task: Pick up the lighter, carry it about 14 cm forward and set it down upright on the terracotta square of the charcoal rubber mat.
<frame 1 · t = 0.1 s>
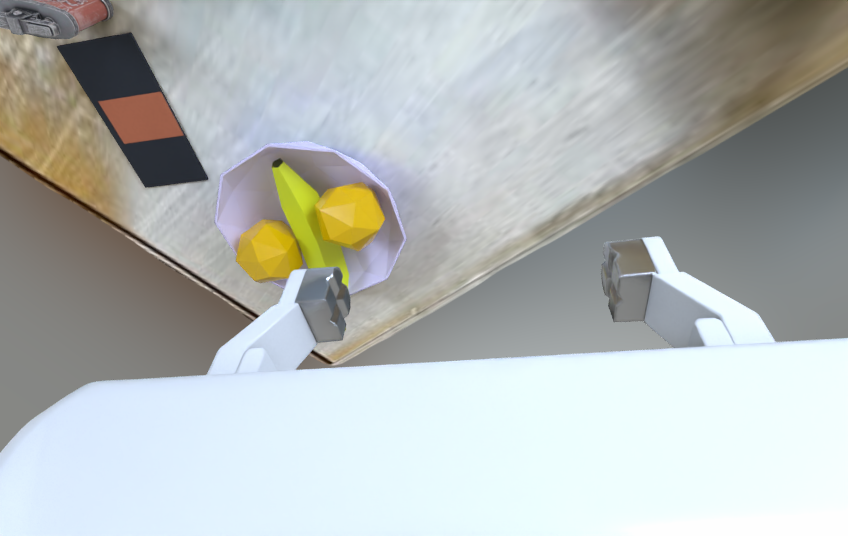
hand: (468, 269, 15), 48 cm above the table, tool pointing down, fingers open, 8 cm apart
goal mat: (139, 118, 64), on the table
lighter: (77, 1, 56), on the table
fruit bowl: (320, 212, 73), on the table
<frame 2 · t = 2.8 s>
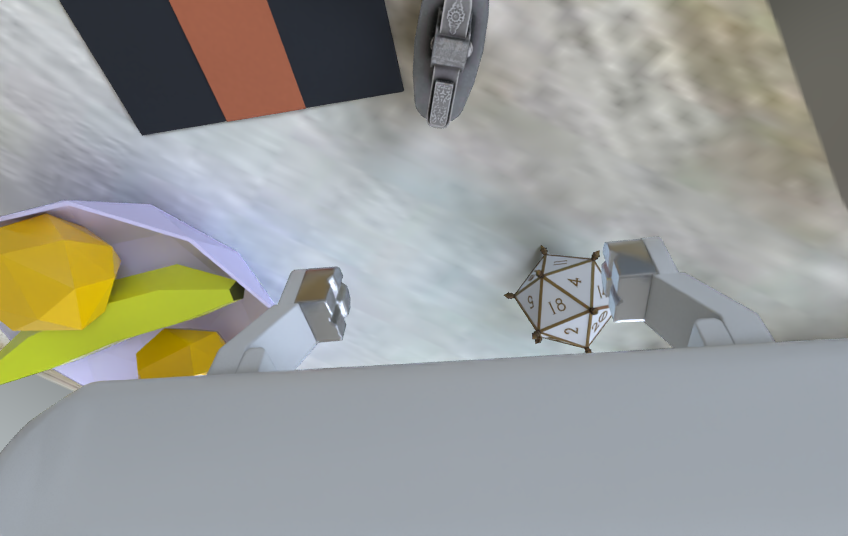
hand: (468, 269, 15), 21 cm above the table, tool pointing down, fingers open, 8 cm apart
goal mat: (236, 39, 31), on the table
lighter: (452, 5, 29), on the table
game die: (558, 265, 42), on the table
fruit bowl: (156, 282, 47), on the table
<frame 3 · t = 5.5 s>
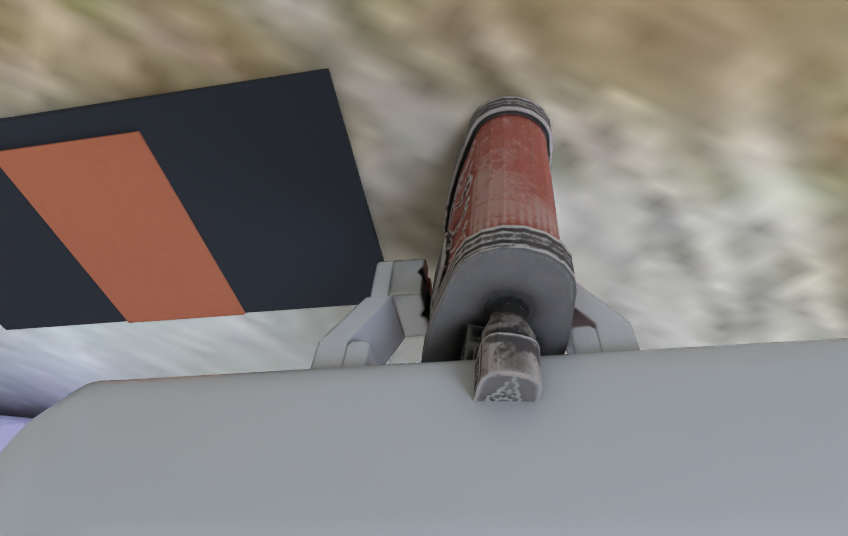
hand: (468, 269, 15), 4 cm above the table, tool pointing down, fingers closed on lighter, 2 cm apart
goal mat: (130, 228, 20), on the table
lighter: (492, 200, 18), on the table, touching gripper
fruit bowl: (60, 464, 35), on the table
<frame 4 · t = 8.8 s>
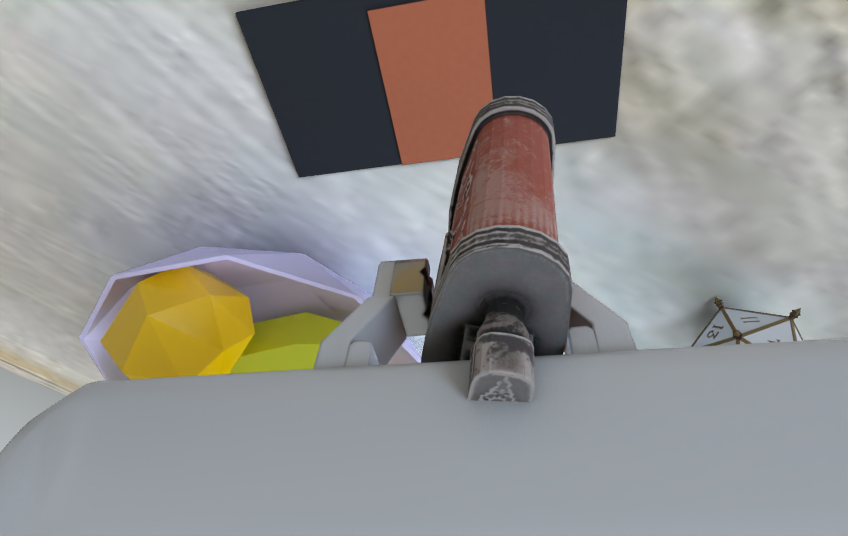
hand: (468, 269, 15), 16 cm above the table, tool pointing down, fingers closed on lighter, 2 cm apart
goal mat: (436, 76, 27), on the table
lighter: (497, 200, 18), point 13 cm above the table, touching gripper
game die: (725, 317, 39), on the table
fruit bowl: (270, 327, 43), on the table
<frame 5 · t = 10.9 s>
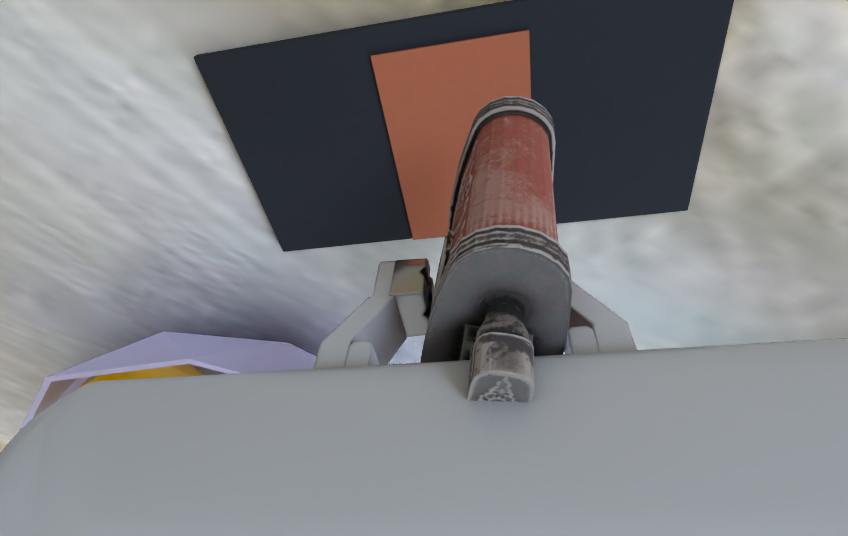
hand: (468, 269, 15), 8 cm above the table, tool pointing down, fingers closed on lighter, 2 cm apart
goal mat: (460, 136, 21), on the table
lighter: (497, 200, 18), point 4 cm above the table, touching gripper
fruit bowl: (253, 405, 36), on the table
when the fingers open (4 cm above the table, at t = 12.3 s): lighter stays where it is, resting on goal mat.
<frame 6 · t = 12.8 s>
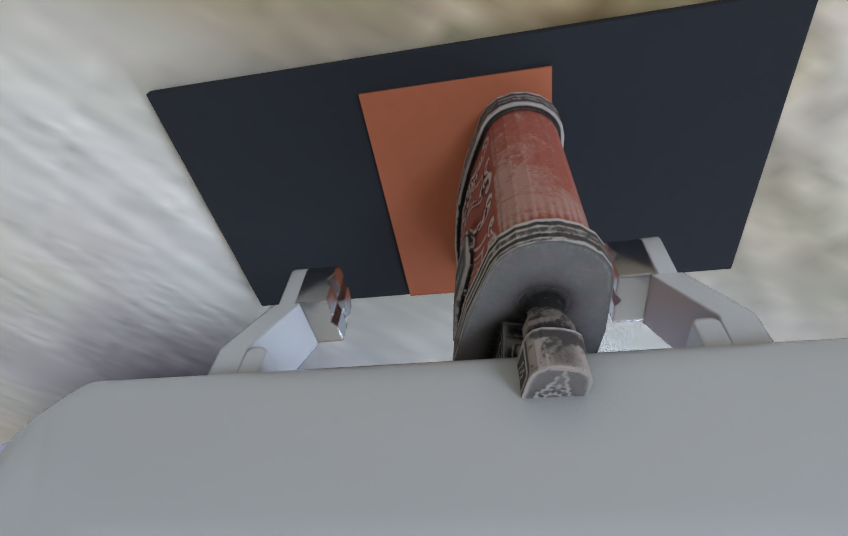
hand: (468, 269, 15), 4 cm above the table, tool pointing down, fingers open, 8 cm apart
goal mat: (466, 185, 18), on the table
lighter: (502, 197, 18), resting on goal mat
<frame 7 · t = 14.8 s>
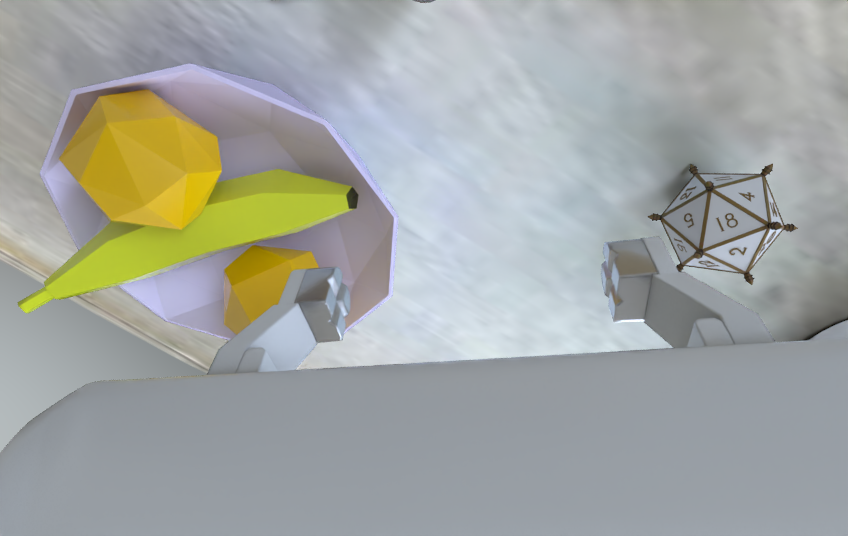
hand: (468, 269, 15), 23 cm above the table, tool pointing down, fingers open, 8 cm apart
game die: (700, 190, 39), on the table
fruit bowl: (242, 195, 42), on the table
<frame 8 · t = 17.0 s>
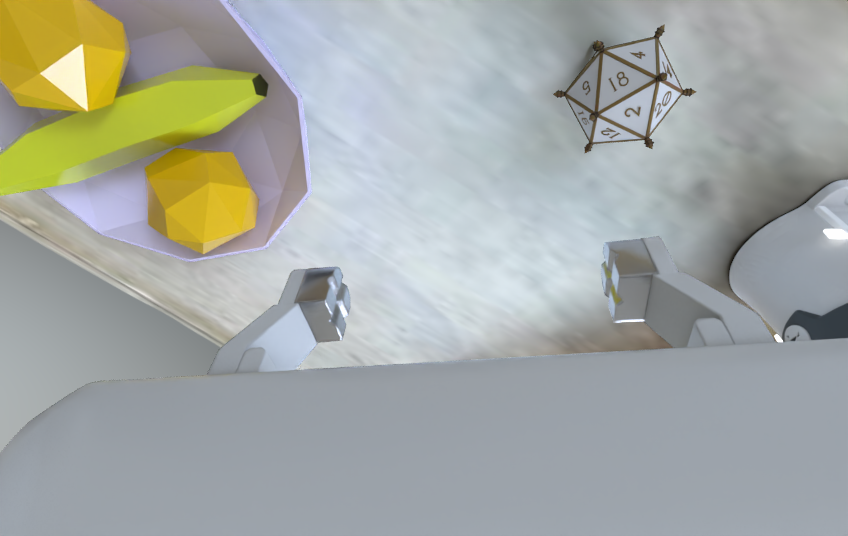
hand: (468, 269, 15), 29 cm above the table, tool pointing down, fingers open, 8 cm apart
game die: (609, 73, 39), on the table
fruit bowl: (166, 102, 43), on the table
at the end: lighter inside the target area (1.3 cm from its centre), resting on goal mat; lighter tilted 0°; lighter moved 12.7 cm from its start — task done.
